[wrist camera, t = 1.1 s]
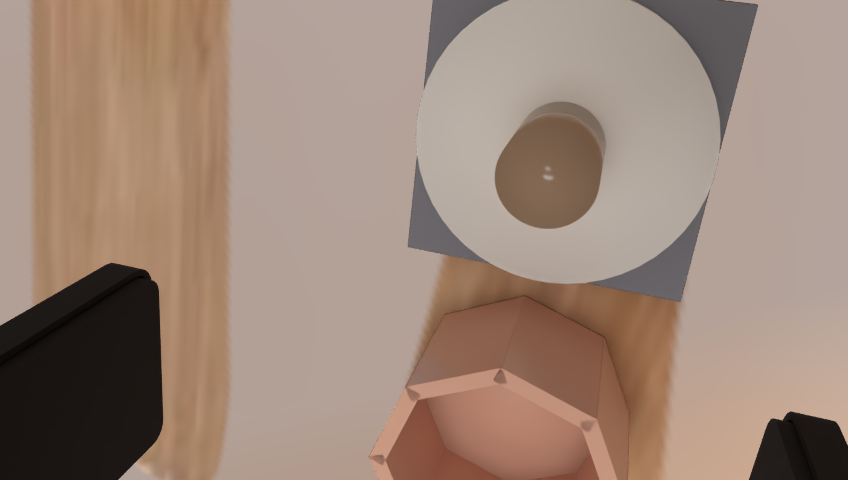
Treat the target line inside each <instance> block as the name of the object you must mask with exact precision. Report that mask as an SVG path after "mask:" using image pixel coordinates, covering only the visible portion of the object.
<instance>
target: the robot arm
mask: <svg viewBox="0 0 848 480" xmlns="http://www.w3.org/2000/svg"><path fill="white" fill-rule="evenodd" d="M162 425H163V401H162V371H161V340H160V310H159V289H158V286H157V283H156V282H154V281H152V280H151V277H150V275H149V273H148V272H147V271H146V270H143V269H138V268H134V267H129V266H125V265H120V264H115V263H110V264H107V265H105V266H103V267H101V268H100V269H98V270H96V271H94V272H93V273H91V274H89V275H87V276H86V277H84V278H82V279H81V280H79V281H77V282H75V283H74V284H72V285H70V286H68V287H67V288H65V289H63V290H61V291H60V292H58V293H56V294H55V295H53V296H51V297H49V298H48V299H46V300H44V301H42V302H41V303H39V304H37V305H35V306H34V307H32V308H30V309H29V310H27V311H25V312H23V313H22V314H20V315H18V316H16V317H15V318H13V319H11V320H9V321H8V322H6V323H4V324H3V325H1V326H0V480H118V479H119V478H120V477H121V476H122V475H123V474H124V473H125V472H126V471H127V470H128V469H129V468H130V467H131V466H132V465H133V464H134V463H135V462H136V461H137V460H138V459H139V458H140V457H141V456H142V455H143V454H144V453H145V452H146V451H147V450H148V449H149V448H150V447H151V446H152V445H153V444H154V443H155V441H156V440H157V438H158V437H159V435H160V432H161V429H162ZM749 480H848V445H847V443H846V441H845V439H844V436H843V434H842V432H841V430H840V427H839V426H838V424H837V423H836V422H835V421H831V420H827V419H822V418H817V417H813V416H809V415H804V414H800V413H795V412H789V413H787V414H786V416H785V417H784V419H783V421H782V420H778V419H771V420H770V421H769V423H768V425H767V427H766V430H765V433H764V436H763V439H762V442H761V445H760V448H759V451H758V454H757V457H756V460H755V463H754V466H753V469H752V472H751V475H750V478H749Z"/></svg>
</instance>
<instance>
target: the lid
mask: <svg viewBox="0 0 848 480" xmlns="http://www.w3.org/2000/svg"><path fill="white" fill-rule="evenodd" d="M720 141H721V137H720V118H719V112H718V107H717V101H716V97H715V94H714V91H713V89H712V86H711V83H710V80H709V78H708V76H707V74H706V72H705V70H704V68H703V66H702V64H701V62H700V60H699V58H698V57H697V55H696V54H695V53H694V51H693V50H692V48H691V47H690V46H689V44H688V43H687V41H686V40H685V39H684V38H683V37H682V36H681V35H680V34H679V33H678V32H677V31H676V29H675V28H674V27H673V26H672V25H670V24H669V23H668V22H667V21H665V20H664V19H663V18H662V17H660V16H659V15H658V14H657V13H655V12H654V11H652V10H650V9H648V8H647V7H645V6H643V5H641V4H640V3H638V2H636V1H633V0H508V1H506V2H504V3H502V4H500V5H498V6H495V7H493V8H492V9H490V10H489V11H487V12H486V13H484V14H482V15H481V16H479V17H478V18H476V19H475V20H474V21H473V22H472V23H470V24H469V25H468V26H467V27H466V28H464V29H463V30H462V31H461V32H460V33H459V34H458V35H457V36H456V37H455V39H454V40H453V41H452V42H451V43H450V44H449V45H448V46H447V48H446V49H445V51H444V52H443V54H442V55H441V56H440V58H439V59H438V61H437V62H436V64H435V66H434V68H433V70H432V72H431V74H430V76H429V78H428V80H427V83H426V86H425V89H424V91H423V94H422V97H421V101H420V106H419V111H418V115H417V128H416V148H417V157H418V163H419V169H420V172H421V176H422V179H423V182H424V186H425V188H426V191H427V193H428V195H429V197H430V200H431V202H432V204H433V206H434V207H435V209H436V210H437V212H438V214H439V215H440V217H441V219H442V220H443V221H444V223H445V224H446V225H447V226H448V228H449V229H450V230H451V232H452V233H453V234H454V235H455V236H456V237H457V238H458V239H459V240H460V241H461V242H462V243H463V244H464V245H465V246H466V247H468V248H469V249H470V250H472V251H473V252H474V253H475V254H477V255H478V256H479V257H481V258H482V259H484V260H486V261H487V262H489V263H491V264H492V265H494V266H496V267H498V268H500V269H503V270H505V271H507V272H509V273H511V274H514V275H518V276H521V277H524V278H527V279H531V280H536V281H541V282H547V283H560V284H574V283H587V282H593V281H599V280H604V279H607V278H611V277H614V276H618V275H621V274H623V273H626V272H628V271H630V270H632V269H635V268H637V267H639V266H641V265H643V264H644V263H646V262H648V261H649V260H651V259H653V258H654V257H656V256H657V255H658V254H660V253H661V252H662V251H664V250H665V249H666V248H667V247H669V246H670V245H671V244H672V243H673V242H674V241H675V240H676V239H677V238H678V237H679V236H680V235H681V234H682V233H683V232H684V231H685V230H686V228H687V227H688V226H689V224H690V223H691V222H692V220H693V219H694V218H695V217H696V215H697V213H698V212H699V210H700V208H701V206H702V205H703V203H704V201H705V199H706V197H707V195H708V192H709V190H710V187H711V185H712V182H713V180H714V176H715V172H716V168H717V164H718V160H719V150H720Z"/></svg>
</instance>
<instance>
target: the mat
mask: <svg viewBox="0 0 848 480" xmlns="http://www.w3.org/2000/svg"><path fill="white" fill-rule="evenodd" d="M506 1H508V0H433V4H432V13H431V24H430V33H429V43H428V54H427V63H426V72H425V82H424V89H425V86H426V83H427V80H428V78H429V76H430V74H431V72H432V70H433V68H434V66H435V64H436V62H437V61H438V59H439V58H440V56H441V55H442V54H443V52H444V51H445V49H446V48H447V46H448V45H449V44H450V43H451V42H452V41H453V40H454V39H455V37H456V36H457V35H458V34H459V33H460V32H461V31H462V30H463V29H464V28H466V27H467V26H468V25H469V24H470V23H472V22H473V21H474V20H475V19H476V18H478V17H479V16H481V15H482V14H484V13H486V12H487V11H489V10H490V9H492V8H493V7H495V6H498V5H500V4H502V3H504V2H506ZM633 1H636V2H638V3H640V4H641V5H643V6H645V7H647V8H648V9H650V10H652V11H654V12H655V13H657V14H658V15H659V16H660V17H662V18H663V19H664V20H665V21H667V22H668V23H669V24H670V25H672V26H673V27H674V28H675V29H676V31H677V32H678V33H679V34H680V35H681V36H682V37H683V38H684V39H685V40H686V41H687V43H688V44H689V46H690V47H691V48H692V50H693V51H694V53H695V54H696V55H697V57H698V58H699V60H700V62H701V64H702V66H703V68H704V70H705V72H706V74H707V76H708V78H709V80H710V83H711V86H712V89H713V91H714V94H715V97H716V101H717V107H718V112H719V118H720V137H721V141H720V149H721V145H722V141H723V137H724V133H725V130H726V126H727V122H728V118H729V114H730V111H731V107H732V103H733V99H734V95H735V91H736V88H737V84H738V80H739V76H740V72H741V69H742V65H743V61H744V57H745V53H746V49H747V46H748V42H749V38H750V34H751V30H752V26H753V23H754V19H755V15H756V11H757V7H758V5H757V4H750V3H741V2H733V1H725V0H633ZM719 153H720V150H719ZM709 191H710V190H709ZM708 195H709V192H708ZM708 195H707V197H706V199H705V201H704V203H703V205H702V206H701V208H700V210H699V212H698V213H697V215H696V217H695V218H694V219H693V220H692V222H691V223H690V224H689V226H688V227H687V228H686V230H685V231H684V232H683V233H682V234H681V235H680V236H679V237H678V238H677V239H676V240H675V241H674V242H673V243H672V244H671V245H670V246H669V247H667V248H666V249H665V250H664V251H662V252H661V253H660V254H658V255H657V256H656V257H654V258H653V259H651V260H649V261H648V262H646V263H644V264H643V265H641V266H639V267H637V268H635V269H632V270H630V271H628V272H626V273H623V274H621V275H618V276H614V277H611V278H607V279H604V280H599V281H593V282H587V283H589V284H594V285H599V286H604V287H609V288H614V289H619V290H624V291H629V292H634V293H639V294H644V295H649V296H654V297H659V298H664V299H669V300H674V301H678V302H681V298H682V294H683V290H684V286H685V283H686V279H687V275H688V271H689V267H690V264H691V260H692V256H693V252H694V248H695V244H696V241H697V237H698V233H699V229H700V225H701V221H702V218H703V214H704V210H705V206H706V202H707V198H708ZM408 247H411V248H416V249H420V250H425V251H430V252H435V253H440V254H445V255H450V256H455V257H460V258H465V259H470V260H475V261H480V262H485V263H489V262H487V261H486V260H484V259H482V258H481V257H479V256H478V255H477V254H475V253H474V252H473V251H472V250H470V249H469V248H468V247H466V246H465V245H464V244H463V243H462V242H461V241H460V240H459V239H458V238H457V237H456V236H455V235H454V234H453V233H452V232H451V230H450V229H449V228H448V226H447V225H446V224H445V223H444V221H443V220H442V219H441V217H440V215H439V214H438V212H437V210H436V209H435V207H434V206H433V204H432V202H431V200H430V197H429V195H428V193H427V191H426V188H425V186H424V182H423V179H422V176H421V172H420V169H419V163H418V157H417V161H416V171H415V180H414V190H413V200H412V210H411V220H410V229H409V239H408ZM490 264H491V263H490Z"/></svg>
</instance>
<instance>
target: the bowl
mask: <svg viewBox="0 0 848 480" xmlns="http://www.w3.org/2000/svg"><path fill="white" fill-rule="evenodd" d="M628 454H629V412H628V408H627V405H626V402H625V399H624V396H623V393H622V390H621V387H620V384H619V381H618V378H617V375H616V372H615V369H614V366H613V363H612V360H611V357H610V353H609V350H608V347H607V344H606V341H605V338H604V337H602V336H600V335H598V334H596V333H595V332H593V331H591V330H589V329H587V328H585V327H583V326H581V325H579V324H577V323H576V322H574V321H572V320H570V319H568V318H566V317H564V316H562V315H560V314H559V313H557V312H555V311H553V310H551V309H549V308H547V307H545V306H543V305H542V304H540V303H538V302H536V301H534V300H532V299H530V298H528V297H526V296H522V297H518V298H514V299H510V300H505V301H501V302H497V303H492V304H488V305H484V306H480V307H475V308H471V309H467V310H462V311H458V312H454V313H449V314H445V315H444V316H443V318H442V320H441V322H440V324H439V326H438V327H437V329H436V331H435V333H434V335H433V337H432V338H431V340H430V342H429V344H428V346H427V348H426V349H425V351H424V353H423V355H422V357H421V359H420V360H419V362H418V364H417V366H416V368H415V370H414V371H413V373H412V375H411V377H410V379H409V381H408V382H407V384H406V386H405V389H404V391H403V393H402V395H401V397H400V399H399V401H398V403H397V405H396V407H395V408H394V410H393V413H392V414H391V416H390V418H389V420H388V422H387V424H386V426H385V428H384V429H383V431H382V433H381V435H380V437H379V439H378V440H377V442H376V444H375V446H374V448H373V450H372V451H371V453H370V455H369V458H370V461H371V463H372V465H373V467H374V470H375V472H376V474H377V477H378V479H379V480H628Z"/></svg>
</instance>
